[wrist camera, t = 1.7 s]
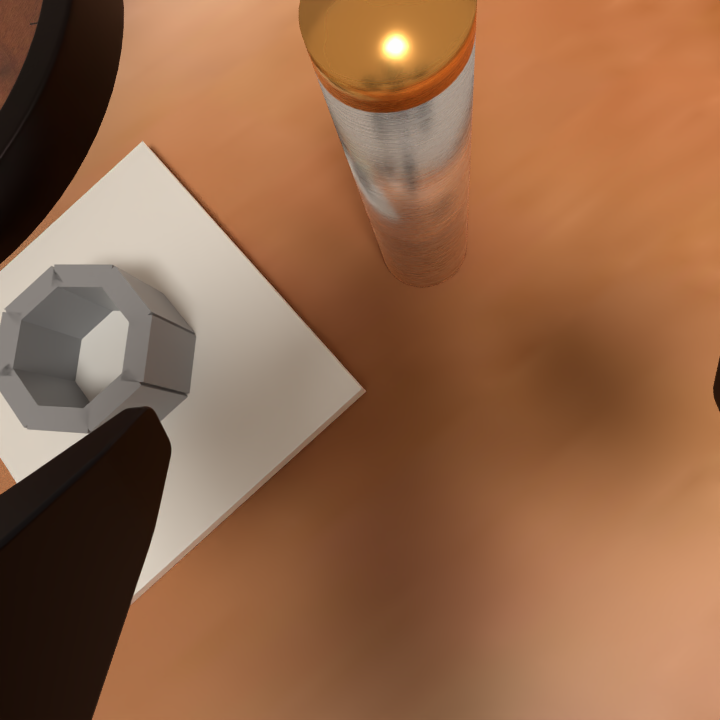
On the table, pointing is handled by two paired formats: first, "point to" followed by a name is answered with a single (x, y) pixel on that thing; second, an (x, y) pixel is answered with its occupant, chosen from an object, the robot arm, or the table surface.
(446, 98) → the gold topped patterned cylinder
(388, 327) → the table surface
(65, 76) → the wall clock
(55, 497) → the robot arm
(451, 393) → the table surface
